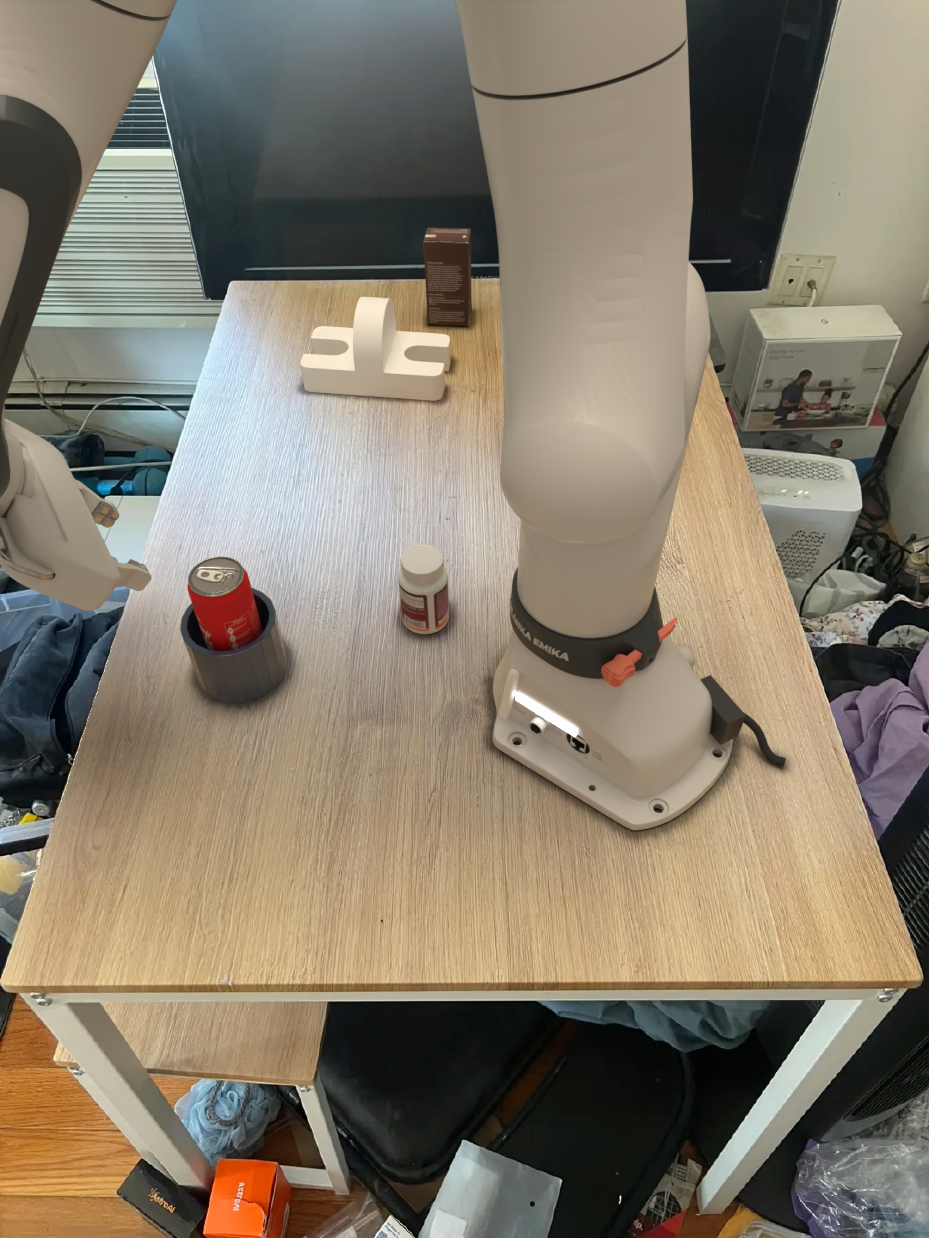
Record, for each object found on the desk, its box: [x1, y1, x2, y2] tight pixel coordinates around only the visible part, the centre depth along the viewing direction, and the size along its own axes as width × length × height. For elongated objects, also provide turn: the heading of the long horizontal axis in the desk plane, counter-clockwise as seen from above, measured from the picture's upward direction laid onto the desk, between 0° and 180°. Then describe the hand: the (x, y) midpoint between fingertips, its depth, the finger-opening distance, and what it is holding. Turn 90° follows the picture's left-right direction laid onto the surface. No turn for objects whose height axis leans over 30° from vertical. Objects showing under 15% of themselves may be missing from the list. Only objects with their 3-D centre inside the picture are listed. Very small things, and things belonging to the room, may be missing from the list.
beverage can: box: [187, 555, 263, 651], centre depth 82 cm, size 5×5×12 cm
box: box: [422, 227, 473, 327], centre depth 123 cm, size 6×4×12 cm
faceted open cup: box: [179, 587, 288, 704], centre depth 84 cm, size 8×8×7 cm
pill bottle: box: [397, 543, 450, 635], centre depth 88 cm, size 5×5×8 cm
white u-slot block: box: [299, 296, 451, 402], centre depth 115 cm, size 10×18×10 cm, turn 83°
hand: (128, 547), depth 77 cm, fingers open, 8 cm apart
